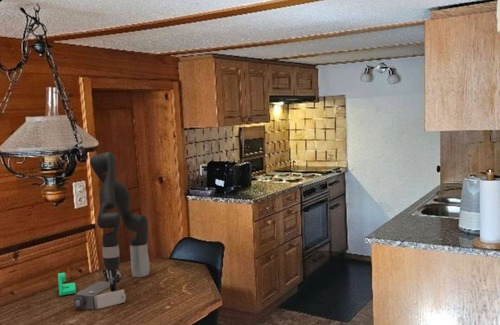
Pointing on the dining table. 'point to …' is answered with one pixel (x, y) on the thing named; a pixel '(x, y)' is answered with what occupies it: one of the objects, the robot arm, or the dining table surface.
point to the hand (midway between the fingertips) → (113, 291)
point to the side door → (109, 299)
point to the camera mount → (65, 285)
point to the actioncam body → (91, 295)
